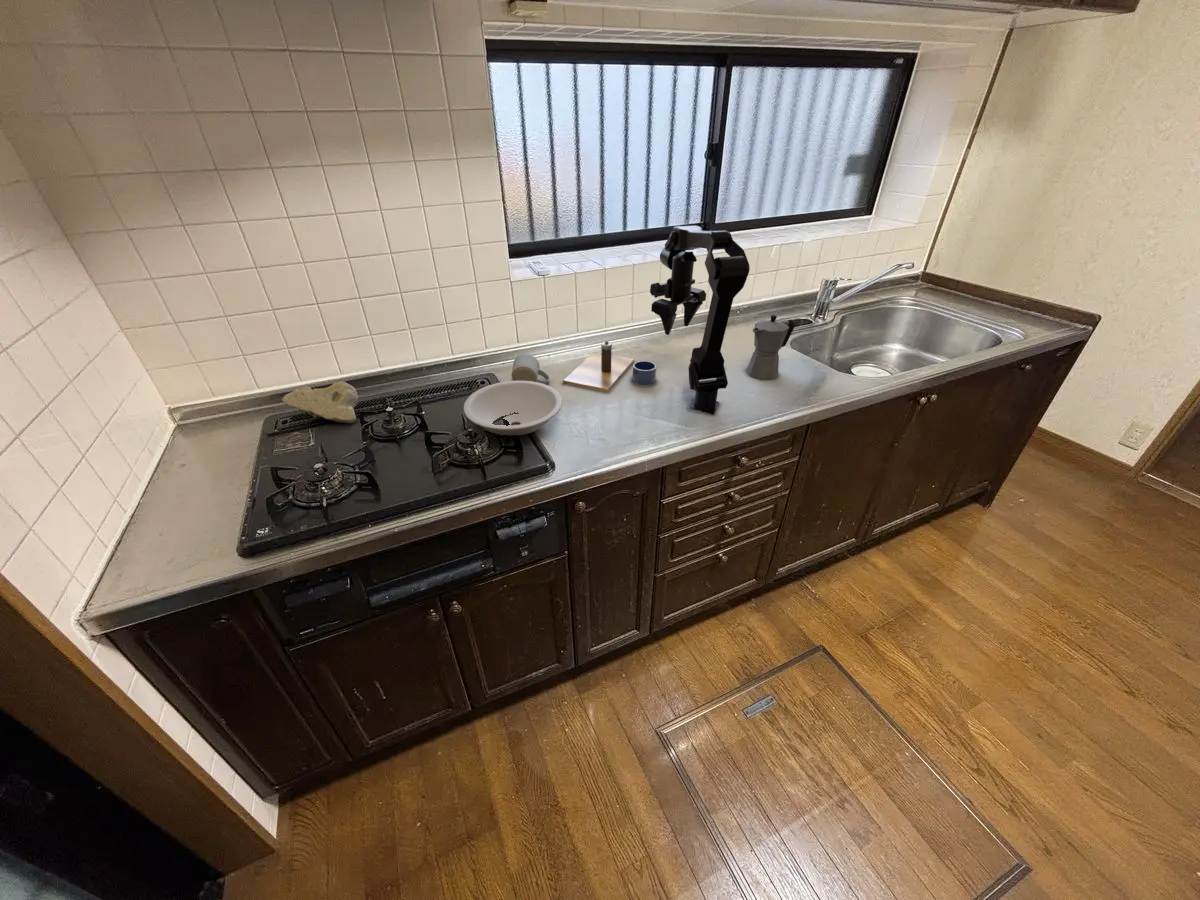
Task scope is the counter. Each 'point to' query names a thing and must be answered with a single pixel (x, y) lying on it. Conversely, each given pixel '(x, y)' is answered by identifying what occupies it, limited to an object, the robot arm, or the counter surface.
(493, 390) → the soup bowl
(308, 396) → the beige irregular pointed piece
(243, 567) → the counter surface
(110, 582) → the counter surface
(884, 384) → the counter surface
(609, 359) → the pepper mill
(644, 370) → the holder cup
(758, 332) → the coffeepot
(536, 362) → the ceramic mug
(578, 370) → the bamboo board
